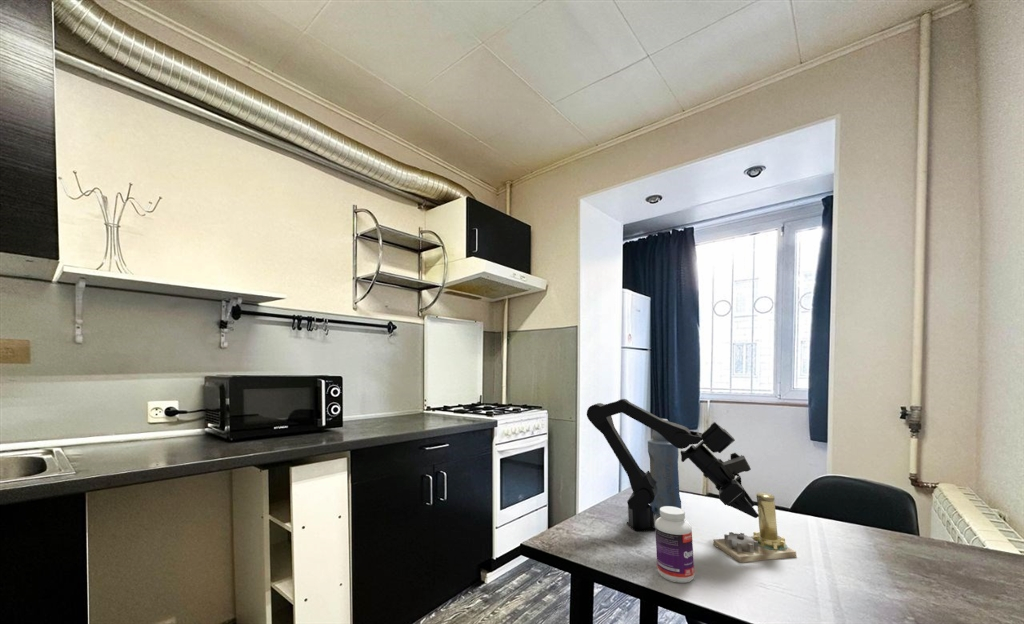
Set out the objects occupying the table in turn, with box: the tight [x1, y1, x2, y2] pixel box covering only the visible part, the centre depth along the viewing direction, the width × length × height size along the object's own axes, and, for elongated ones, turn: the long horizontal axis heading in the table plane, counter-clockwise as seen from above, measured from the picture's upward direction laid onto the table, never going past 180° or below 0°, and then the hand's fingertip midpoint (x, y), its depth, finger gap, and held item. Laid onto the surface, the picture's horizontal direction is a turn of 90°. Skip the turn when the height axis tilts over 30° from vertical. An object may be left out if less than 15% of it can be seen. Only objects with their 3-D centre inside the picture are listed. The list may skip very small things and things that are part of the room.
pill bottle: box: [654, 506, 695, 584], centre depth 94 cm, size 8×8×14 cm
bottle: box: [647, 418, 682, 516], centre depth 134 cm, size 10×10×30 cm
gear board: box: [712, 531, 797, 563], centre depth 105 cm, size 17×10×4 cm, turn 99°
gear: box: [752, 492, 787, 549], centre depth 107 cm, size 7×7×12 cm
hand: (755, 511), depth 108 cm, fingers open, 9 cm apart
